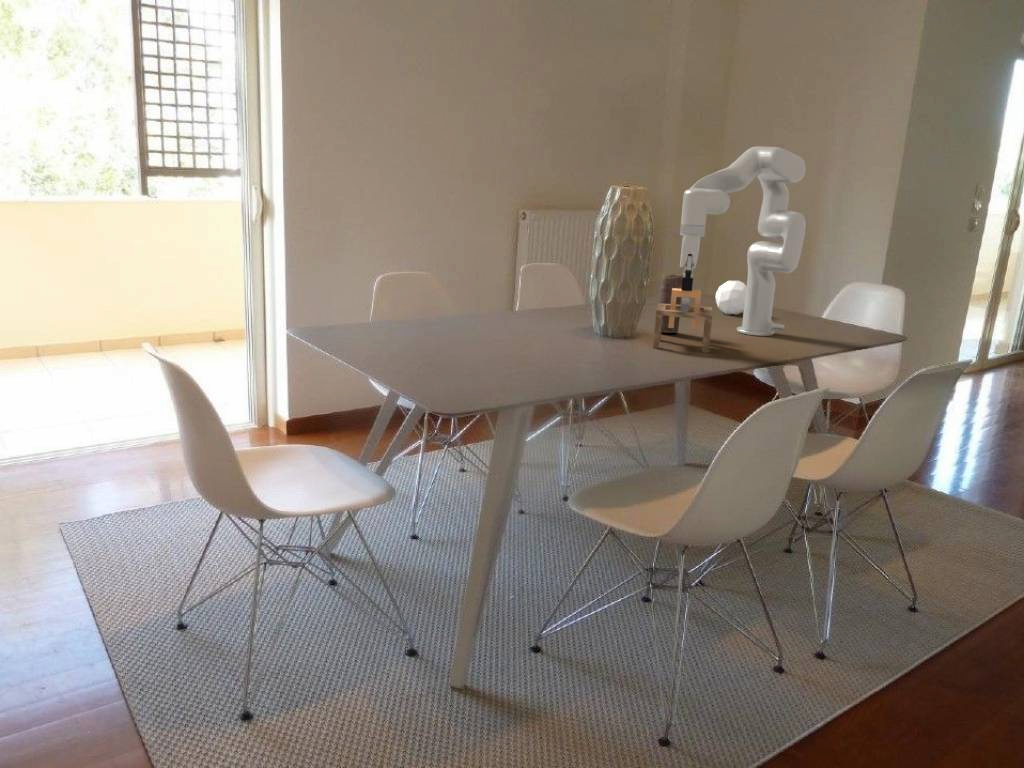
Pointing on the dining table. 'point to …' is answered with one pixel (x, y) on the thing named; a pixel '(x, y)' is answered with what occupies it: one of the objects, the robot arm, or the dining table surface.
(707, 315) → the shelf
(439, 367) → the dining table surface
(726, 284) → the geodesic sphere
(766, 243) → the robot arm
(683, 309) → the long charcoal crossbeam
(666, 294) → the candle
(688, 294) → the orange cream legged block
